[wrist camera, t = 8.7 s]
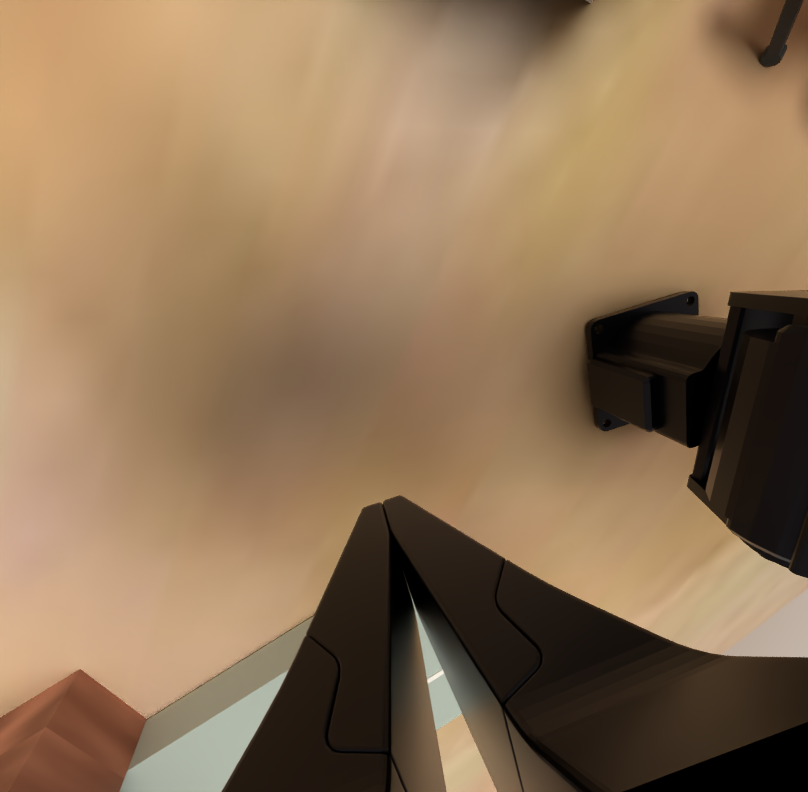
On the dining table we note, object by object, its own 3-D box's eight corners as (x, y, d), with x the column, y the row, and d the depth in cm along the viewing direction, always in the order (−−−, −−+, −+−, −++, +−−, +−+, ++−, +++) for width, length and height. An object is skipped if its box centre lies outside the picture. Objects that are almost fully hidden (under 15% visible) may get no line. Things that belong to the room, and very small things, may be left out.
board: (423, 547, 24) (435, 578, 21) (492, 647, 27) (510, 684, 25) (91, 754, 23) (65, 811, 20) (206, 829, 26) (196, 886, 24)
